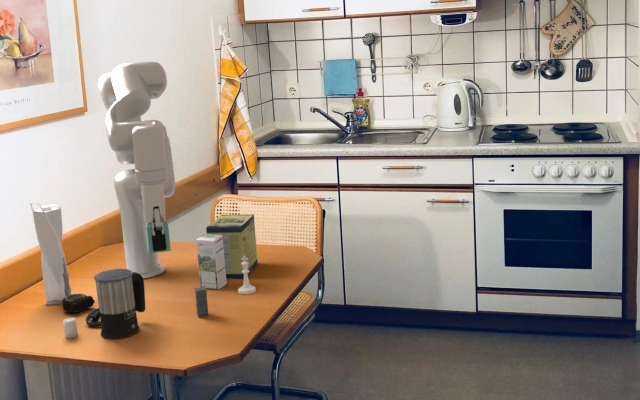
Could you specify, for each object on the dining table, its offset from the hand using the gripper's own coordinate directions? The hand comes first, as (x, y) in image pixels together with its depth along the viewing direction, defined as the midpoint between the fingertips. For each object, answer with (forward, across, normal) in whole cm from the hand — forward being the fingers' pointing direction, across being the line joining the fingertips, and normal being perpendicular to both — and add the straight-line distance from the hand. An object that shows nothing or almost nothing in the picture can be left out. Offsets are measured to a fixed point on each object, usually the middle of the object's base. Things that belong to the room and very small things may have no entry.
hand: (158, 246), depth 202 cm
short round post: (+19, +4, -23) cm, 30 cm away
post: (+19, +2, +9) cm, 21 cm away
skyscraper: (+19, -26, -27) cm, 42 cm away
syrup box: (+19, -20, +15) cm, 31 cm away
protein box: (+19, -32, +23) cm, 44 cm away
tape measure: (+19, -15, -21) cm, 32 cm away
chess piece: (+19, -12, +23) cm, 32 cm away
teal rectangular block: (+1, 0, 0) cm, 1 cm away
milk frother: (+19, +2, -14) cm, 23 cm away
